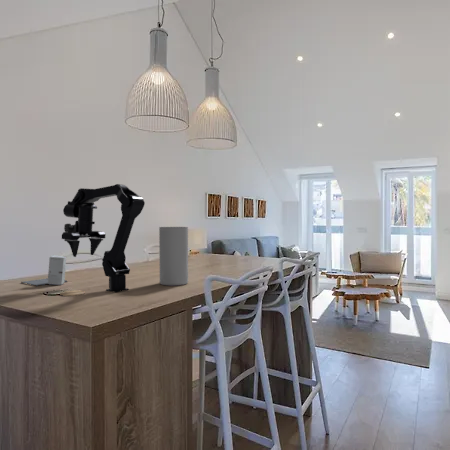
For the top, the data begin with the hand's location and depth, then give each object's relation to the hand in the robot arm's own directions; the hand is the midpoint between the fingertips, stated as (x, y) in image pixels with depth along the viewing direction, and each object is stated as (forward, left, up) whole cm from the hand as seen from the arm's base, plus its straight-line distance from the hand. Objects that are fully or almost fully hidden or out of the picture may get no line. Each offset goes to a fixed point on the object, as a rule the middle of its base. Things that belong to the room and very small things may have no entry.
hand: (83, 255), depth 156 cm
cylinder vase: (-25, -28, -13) cm, 40 cm away
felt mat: (+25, +4, -13) cm, 29 cm away
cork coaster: (-9, +11, -13) cm, 20 cm away
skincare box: (+16, +3, -13) cm, 21 cm away
